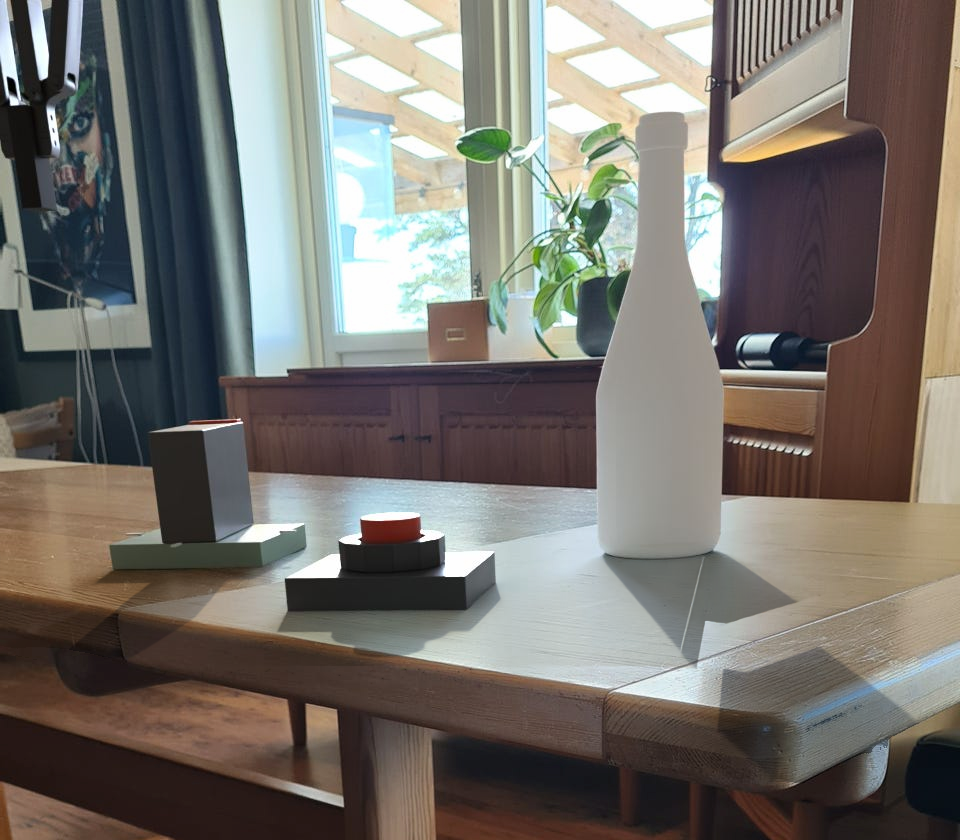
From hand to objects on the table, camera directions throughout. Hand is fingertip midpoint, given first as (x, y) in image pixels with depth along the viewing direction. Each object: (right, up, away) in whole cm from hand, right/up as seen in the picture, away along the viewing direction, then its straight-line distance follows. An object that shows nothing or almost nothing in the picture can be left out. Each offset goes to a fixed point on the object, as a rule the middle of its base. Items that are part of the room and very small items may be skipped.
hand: (40, 209), depth 94 cm
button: (+26, -27, -8) cm, 38 cm away
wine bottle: (+46, -24, +7) cm, 53 cm away
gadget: (+10, -20, +14) cm, 26 cm away
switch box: (+27, -30, -7) cm, 41 cm away
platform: (+10, -22, +14) cm, 28 cm away
